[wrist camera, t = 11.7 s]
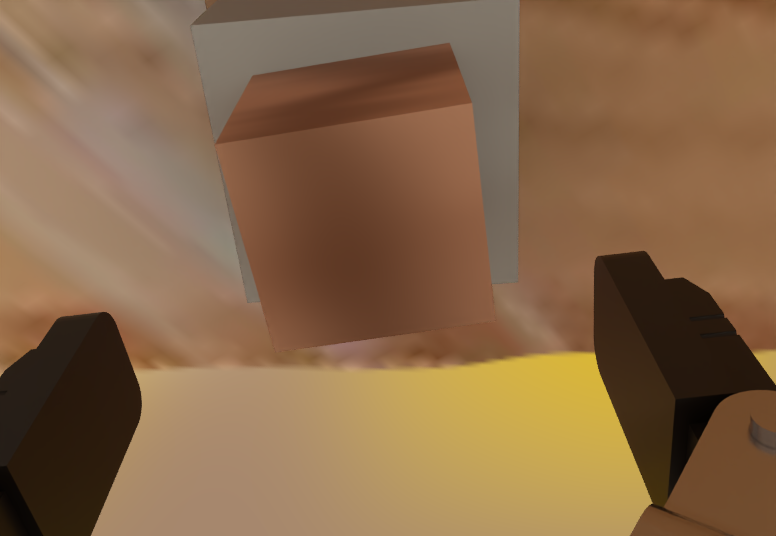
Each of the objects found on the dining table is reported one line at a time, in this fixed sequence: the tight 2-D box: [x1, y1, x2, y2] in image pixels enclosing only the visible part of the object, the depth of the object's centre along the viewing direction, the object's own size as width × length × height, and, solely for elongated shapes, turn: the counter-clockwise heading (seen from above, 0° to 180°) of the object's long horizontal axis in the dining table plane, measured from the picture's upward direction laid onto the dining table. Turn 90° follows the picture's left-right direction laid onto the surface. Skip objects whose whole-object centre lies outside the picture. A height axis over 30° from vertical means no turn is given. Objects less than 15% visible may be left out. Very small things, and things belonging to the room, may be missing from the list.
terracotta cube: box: [215, 43, 496, 352], centre depth 18 cm, size 5×5×5 cm
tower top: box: [190, 0, 520, 303], centre depth 22 cm, size 8×8×5 cm
